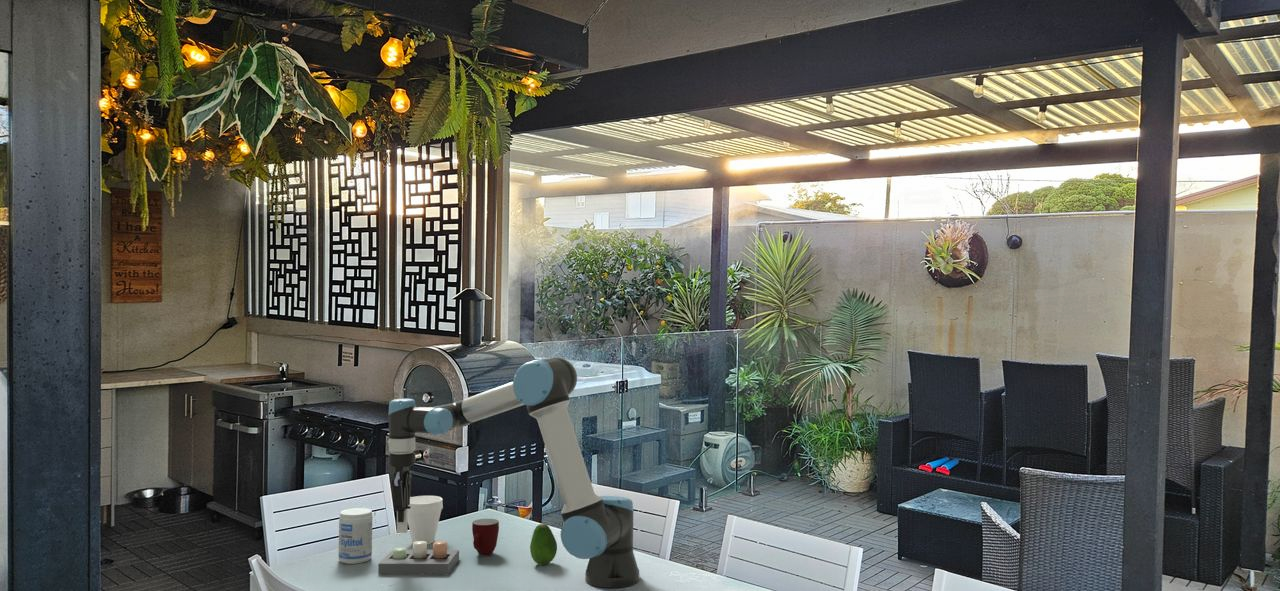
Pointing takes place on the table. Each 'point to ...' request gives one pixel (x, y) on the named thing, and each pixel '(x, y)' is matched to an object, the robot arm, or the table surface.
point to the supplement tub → (355, 535)
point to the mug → (485, 535)
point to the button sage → (400, 553)
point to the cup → (424, 517)
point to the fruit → (543, 545)
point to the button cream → (420, 549)
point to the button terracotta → (440, 549)
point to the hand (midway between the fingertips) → (402, 532)
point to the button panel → (418, 564)
